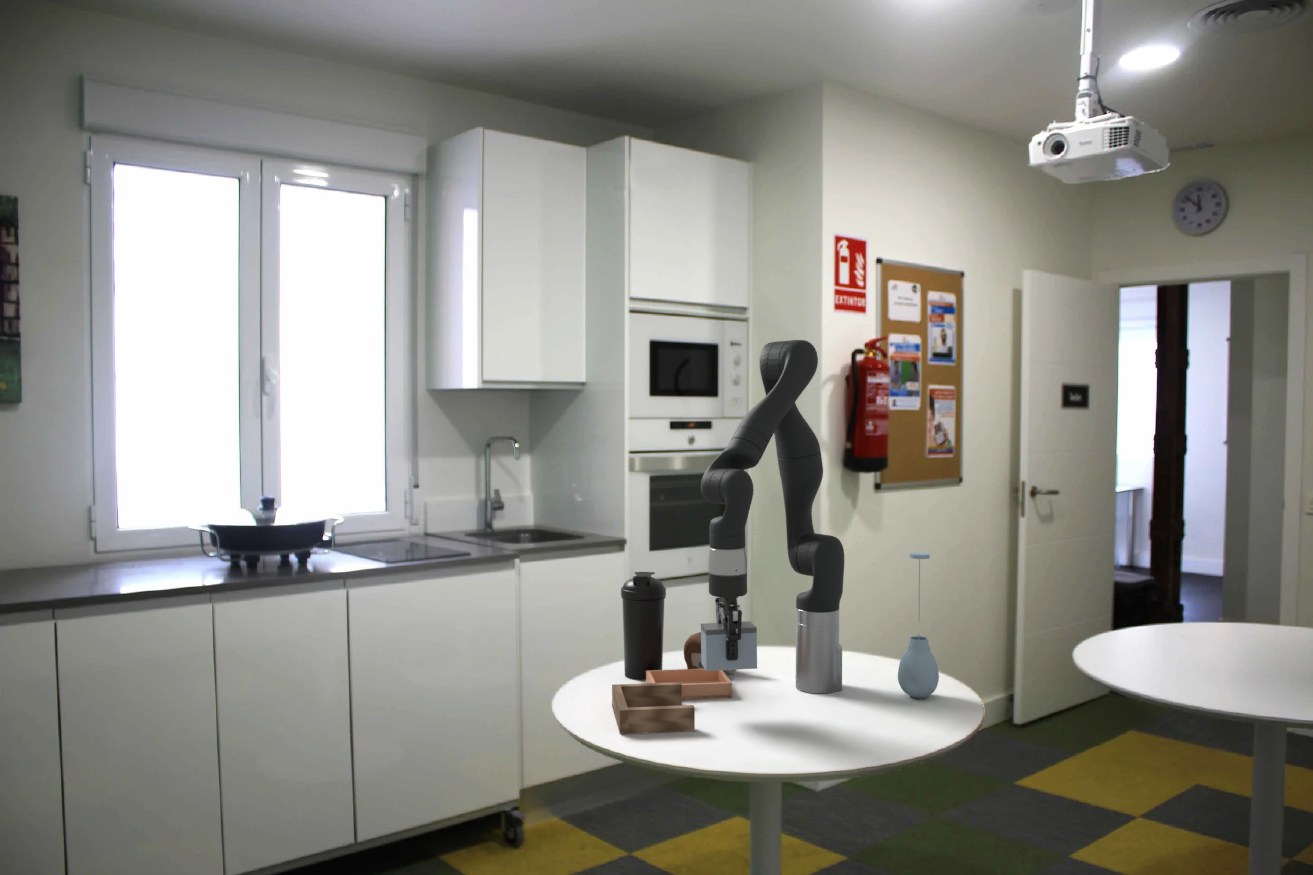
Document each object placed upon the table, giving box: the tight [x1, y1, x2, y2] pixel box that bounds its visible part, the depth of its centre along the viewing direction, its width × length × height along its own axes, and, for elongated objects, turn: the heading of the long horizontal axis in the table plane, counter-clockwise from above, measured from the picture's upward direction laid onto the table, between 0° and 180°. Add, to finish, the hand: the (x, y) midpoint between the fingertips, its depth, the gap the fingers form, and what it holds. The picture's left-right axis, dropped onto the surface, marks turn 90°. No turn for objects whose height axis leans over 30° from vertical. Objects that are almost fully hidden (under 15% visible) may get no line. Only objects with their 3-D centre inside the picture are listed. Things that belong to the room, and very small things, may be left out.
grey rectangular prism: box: [700, 620, 758, 671], centre depth 191 cm, size 10×6×8 cm, turn 98°
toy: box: [683, 631, 737, 675], centre depth 222 cm, size 9×8×15 cm
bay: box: [611, 682, 696, 735], centre depth 189 cm, size 14×17×4 cm
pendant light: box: [897, 551, 940, 699], centre depth 203 cm, size 8×8×30 cm
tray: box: [645, 668, 733, 700], centre depth 207 cm, size 17×12×3 cm
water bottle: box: [620, 571, 667, 681], centre depth 220 cm, size 10×10×23 cm
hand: (728, 655), depth 191 cm, fingers closed on grey rectangular prism, 5 cm apart
